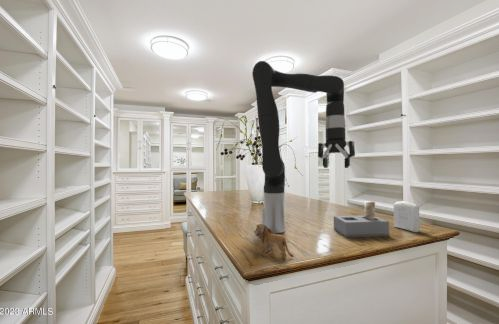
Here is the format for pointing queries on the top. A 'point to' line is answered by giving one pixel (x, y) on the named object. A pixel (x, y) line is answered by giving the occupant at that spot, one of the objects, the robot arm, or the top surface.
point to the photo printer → (406, 216)
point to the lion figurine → (271, 239)
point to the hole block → (361, 226)
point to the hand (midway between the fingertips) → (335, 167)
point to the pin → (369, 210)
